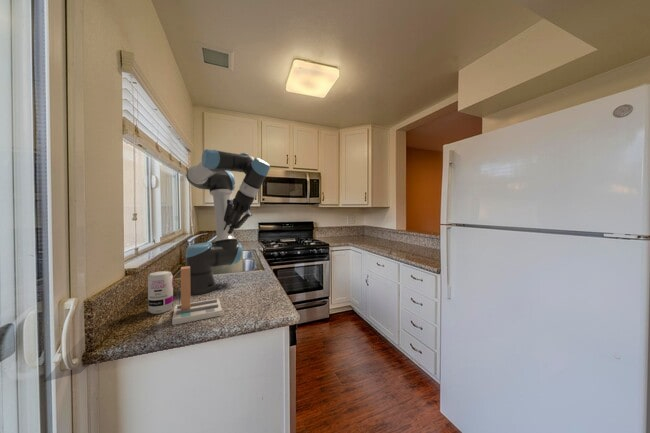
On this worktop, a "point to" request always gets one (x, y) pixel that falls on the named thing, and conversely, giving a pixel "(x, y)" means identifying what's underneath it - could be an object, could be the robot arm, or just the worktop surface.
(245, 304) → the worktop surface
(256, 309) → the worktop surface
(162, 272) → the supplement can
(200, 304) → the switch base
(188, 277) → the orange rectangular block
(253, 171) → the robot arm
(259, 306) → the worktop surface
